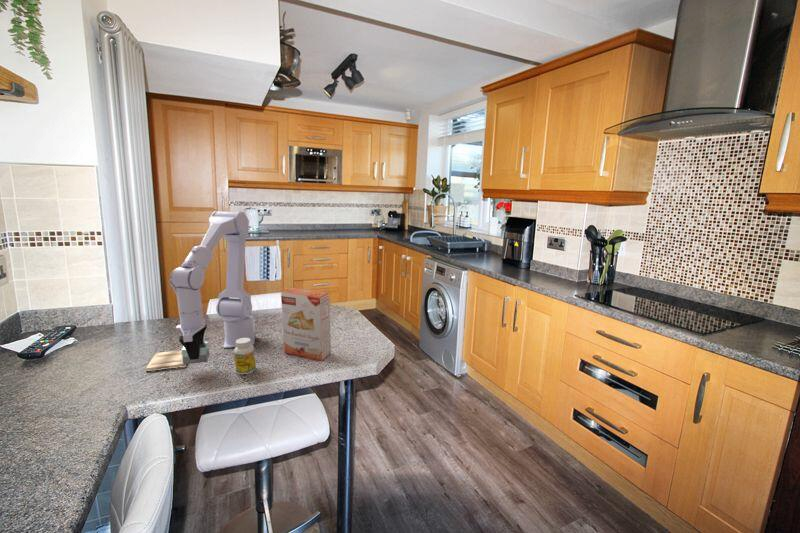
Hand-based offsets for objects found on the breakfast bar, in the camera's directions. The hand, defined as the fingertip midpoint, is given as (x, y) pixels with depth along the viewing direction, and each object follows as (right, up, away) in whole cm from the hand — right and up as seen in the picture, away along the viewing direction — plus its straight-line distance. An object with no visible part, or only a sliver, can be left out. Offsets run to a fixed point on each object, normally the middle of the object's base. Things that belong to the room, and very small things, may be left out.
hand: (196, 355), depth 108 cm
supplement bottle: (+13, -5, +2) cm, 14 cm away
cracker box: (+28, -3, +13) cm, 32 cm away
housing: (0, -1, 0) cm, 1 cm away
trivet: (-11, -4, +7) cm, 14 cm away
